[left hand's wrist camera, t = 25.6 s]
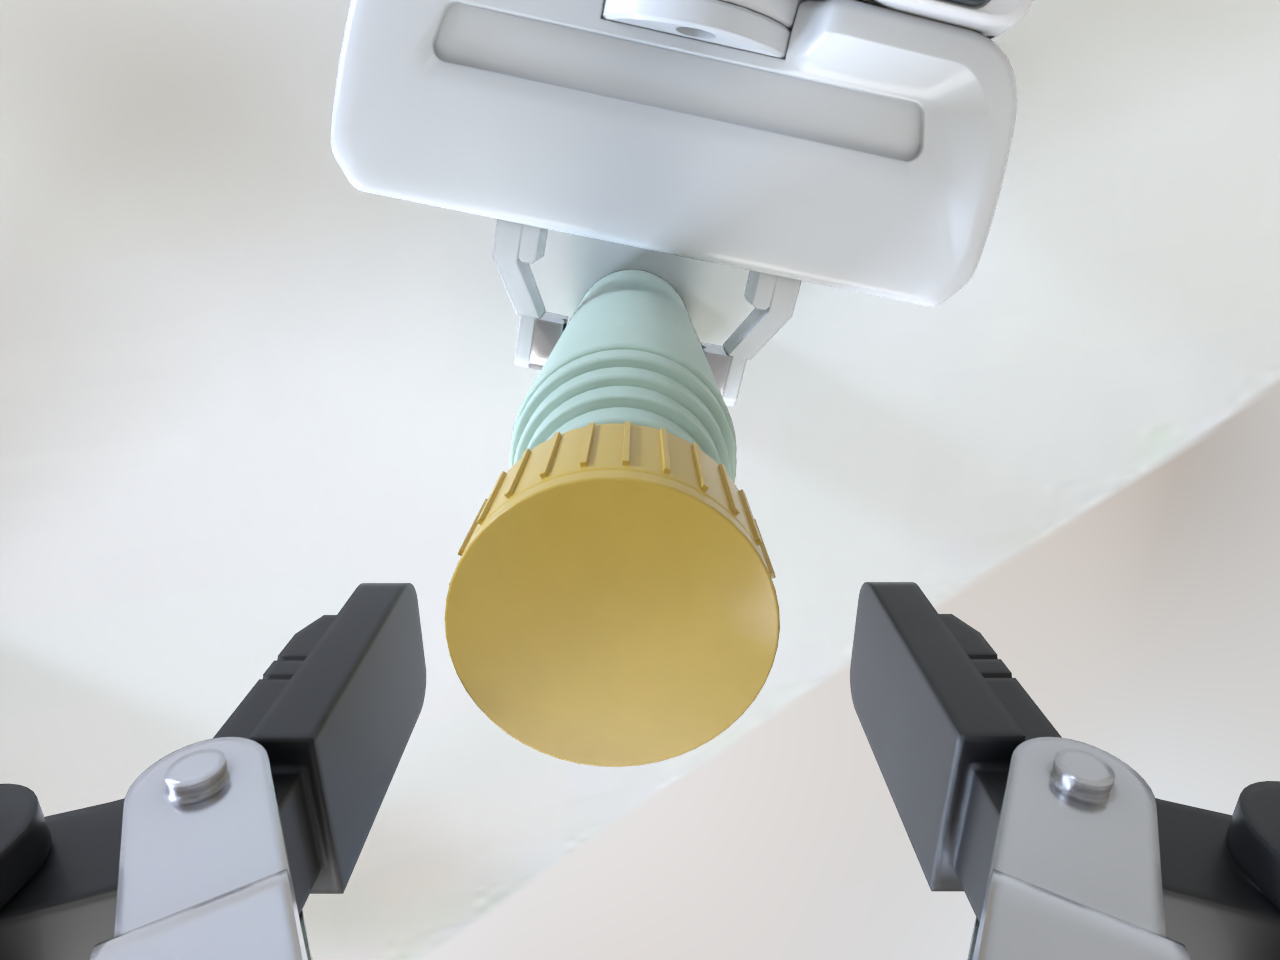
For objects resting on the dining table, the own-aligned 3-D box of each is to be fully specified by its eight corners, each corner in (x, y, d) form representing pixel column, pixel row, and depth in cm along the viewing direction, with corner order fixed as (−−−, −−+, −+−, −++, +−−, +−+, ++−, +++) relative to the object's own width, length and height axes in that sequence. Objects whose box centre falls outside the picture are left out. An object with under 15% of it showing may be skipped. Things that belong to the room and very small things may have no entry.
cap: (512, 687, 13) (485, 789, 10) (447, 442, 11) (399, 502, 9) (770, 651, 12) (798, 749, 10) (740, 396, 11) (765, 446, 9)
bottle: (683, 387, 33) (769, 760, 11) (573, 379, 33) (439, 742, 11) (693, 273, 31) (819, 448, 9) (577, 265, 31) (428, 424, 9)
